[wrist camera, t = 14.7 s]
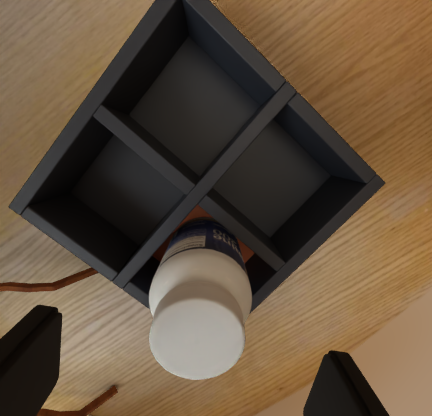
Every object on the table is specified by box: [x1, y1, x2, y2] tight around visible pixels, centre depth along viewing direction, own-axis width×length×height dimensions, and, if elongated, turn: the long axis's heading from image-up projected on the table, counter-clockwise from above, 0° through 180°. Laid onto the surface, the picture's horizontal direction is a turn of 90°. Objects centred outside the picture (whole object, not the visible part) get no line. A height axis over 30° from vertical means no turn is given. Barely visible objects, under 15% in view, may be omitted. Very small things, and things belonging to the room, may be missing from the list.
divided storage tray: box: [9, 0, 385, 314], centre depth 17 cm, size 15×15×5 cm
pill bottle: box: [149, 217, 252, 380], centre depth 15 cm, size 5×5×10 cm
